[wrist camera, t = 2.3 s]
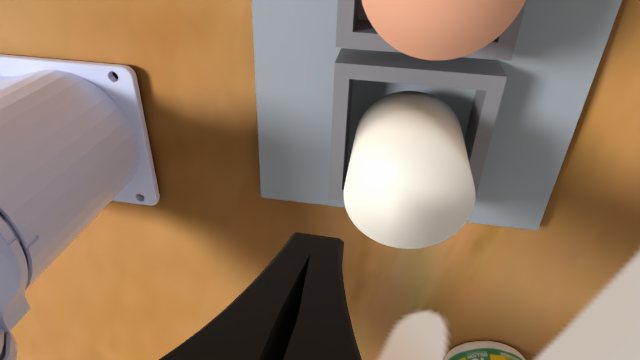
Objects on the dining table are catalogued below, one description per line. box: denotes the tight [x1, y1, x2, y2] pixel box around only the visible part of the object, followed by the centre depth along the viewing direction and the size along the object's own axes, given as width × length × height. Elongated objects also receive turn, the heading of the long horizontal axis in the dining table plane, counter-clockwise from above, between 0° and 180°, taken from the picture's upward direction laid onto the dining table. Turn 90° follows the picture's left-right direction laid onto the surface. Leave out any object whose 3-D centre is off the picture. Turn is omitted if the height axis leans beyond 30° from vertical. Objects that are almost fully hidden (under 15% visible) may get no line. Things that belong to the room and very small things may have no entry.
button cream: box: [344, 91, 475, 249], centre depth 17 cm, size 4×4×4 cm
